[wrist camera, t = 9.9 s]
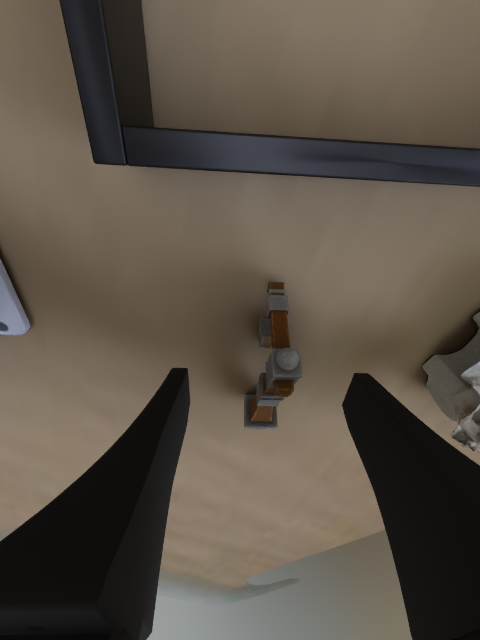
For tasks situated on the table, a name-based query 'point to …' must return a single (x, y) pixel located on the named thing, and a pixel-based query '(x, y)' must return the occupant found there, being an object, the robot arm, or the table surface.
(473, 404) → the egg carton
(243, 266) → the table surface
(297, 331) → the table surface
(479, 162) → the frame
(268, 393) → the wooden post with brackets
